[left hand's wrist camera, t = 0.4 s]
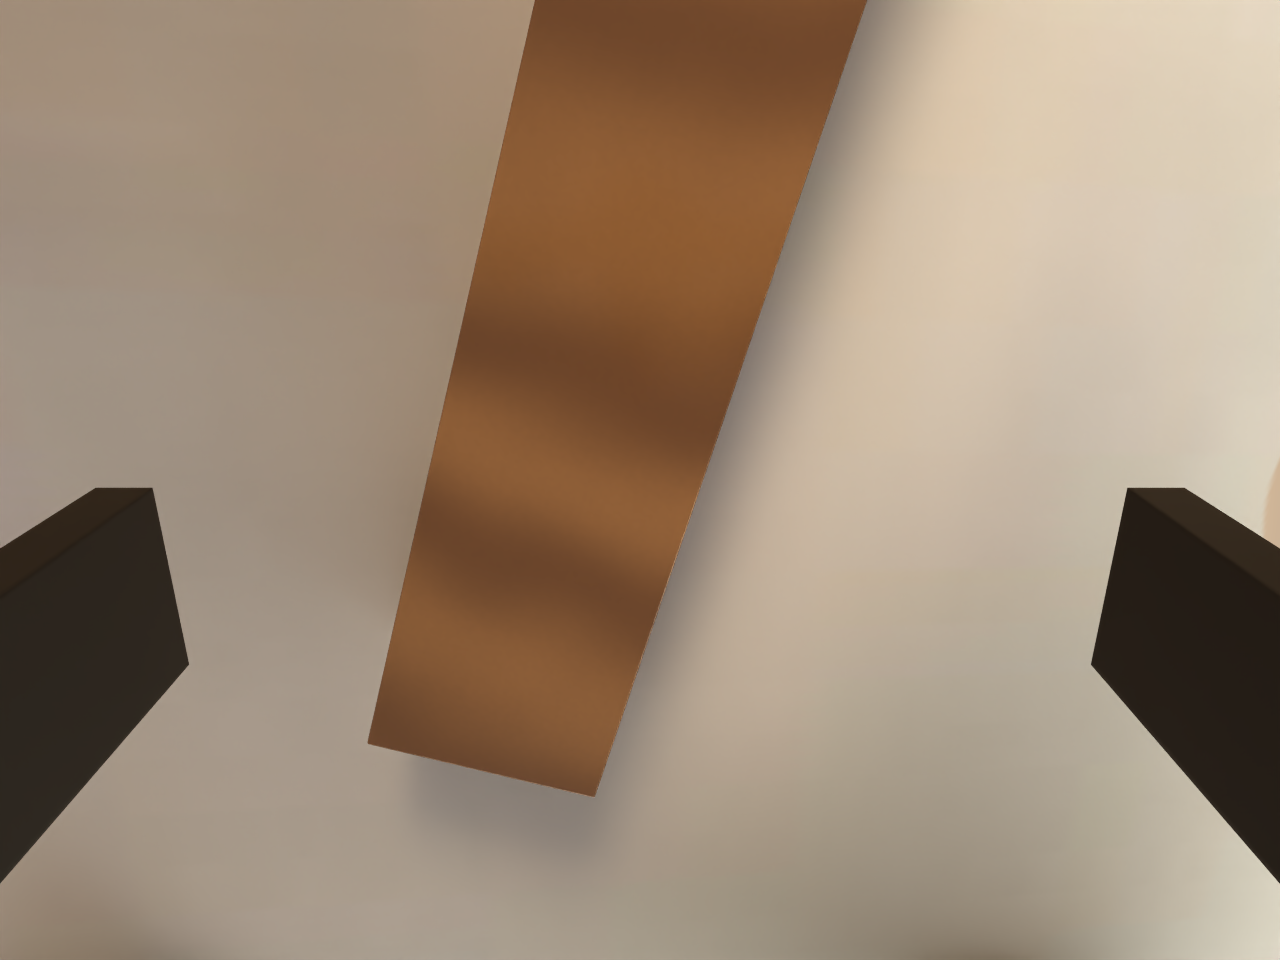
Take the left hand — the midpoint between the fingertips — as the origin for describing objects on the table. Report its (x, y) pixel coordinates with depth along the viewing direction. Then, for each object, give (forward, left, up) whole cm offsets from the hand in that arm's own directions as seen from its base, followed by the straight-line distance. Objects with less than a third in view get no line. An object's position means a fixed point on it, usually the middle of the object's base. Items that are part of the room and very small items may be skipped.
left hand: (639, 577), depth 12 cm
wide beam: (+8, -2, -24) cm, 26 cm away
